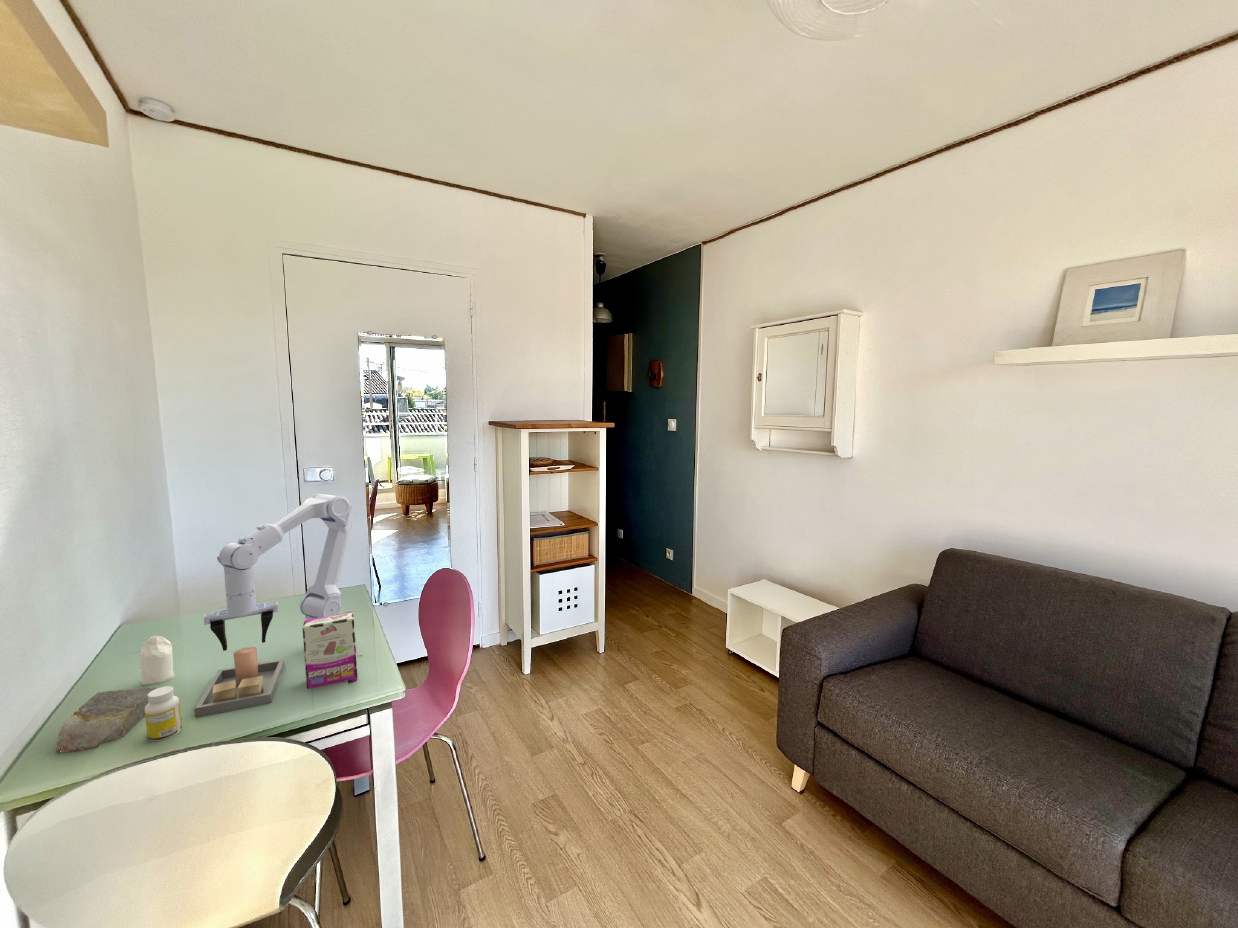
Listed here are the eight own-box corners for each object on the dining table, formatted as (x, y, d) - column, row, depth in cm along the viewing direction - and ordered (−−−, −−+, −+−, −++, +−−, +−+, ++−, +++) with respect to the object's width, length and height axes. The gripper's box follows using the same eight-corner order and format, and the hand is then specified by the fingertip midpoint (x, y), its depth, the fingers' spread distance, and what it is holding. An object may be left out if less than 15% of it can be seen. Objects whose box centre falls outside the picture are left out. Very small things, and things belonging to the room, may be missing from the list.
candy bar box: (357, 671, 133) (354, 611, 131) (357, 680, 129) (354, 618, 127) (307, 681, 128) (303, 618, 126) (306, 691, 124) (302, 626, 122)
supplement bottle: (161, 727, 109) (157, 684, 108) (188, 726, 110) (184, 683, 109) (140, 744, 104) (135, 698, 103) (168, 742, 105) (164, 697, 103)
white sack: (165, 627, 130) (174, 632, 128) (169, 671, 132) (178, 678, 129) (134, 636, 125) (142, 642, 122) (138, 682, 127) (147, 689, 124)
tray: (284, 668, 134) (284, 658, 134) (271, 704, 118) (270, 694, 118) (219, 679, 129) (218, 669, 128) (195, 719, 112) (194, 708, 112)
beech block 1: (236, 695, 120) (235, 679, 120) (235, 704, 117) (234, 687, 117) (215, 701, 118) (213, 684, 118) (213, 709, 115) (212, 693, 114)
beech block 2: (263, 691, 122) (262, 675, 122) (260, 700, 119) (258, 684, 118) (243, 695, 121) (242, 679, 120) (239, 704, 117) (237, 687, 117)
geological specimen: (158, 683, 118) (120, 717, 104) (159, 708, 118) (121, 746, 104) (99, 689, 114) (51, 726, 100) (100, 716, 115) (52, 756, 101)
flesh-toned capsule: (258, 675, 130) (256, 645, 129) (259, 683, 126) (256, 652, 125) (235, 680, 127) (233, 650, 126) (235, 688, 123) (233, 657, 122)
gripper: (276, 581, 132) (279, 631, 133) (204, 592, 124) (208, 645, 125) (276, 589, 126) (280, 642, 128) (201, 602, 118) (205, 657, 120)
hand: (244, 644), depth 126 cm, fingers open, 7 cm apart
